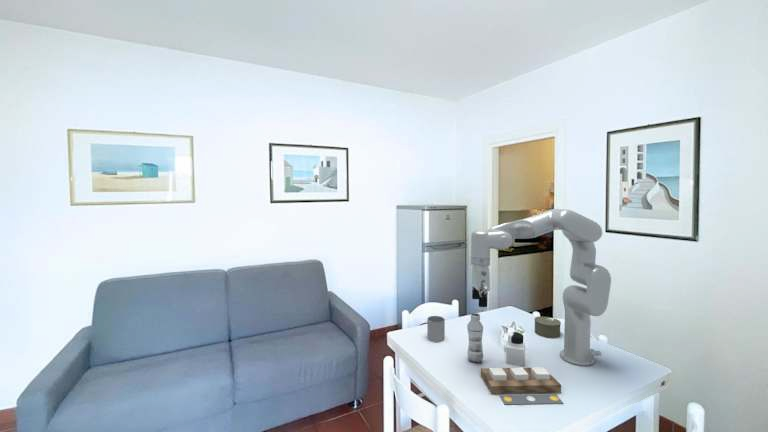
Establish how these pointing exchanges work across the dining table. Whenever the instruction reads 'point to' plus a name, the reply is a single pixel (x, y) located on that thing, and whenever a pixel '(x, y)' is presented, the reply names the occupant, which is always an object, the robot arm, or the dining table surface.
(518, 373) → the button middle
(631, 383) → the dining table surface
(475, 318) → the plastic bottle
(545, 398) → the pattern card
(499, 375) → the button
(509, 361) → the medicine bottle
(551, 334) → the can
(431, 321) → the cup
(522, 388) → the button board
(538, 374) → the button
